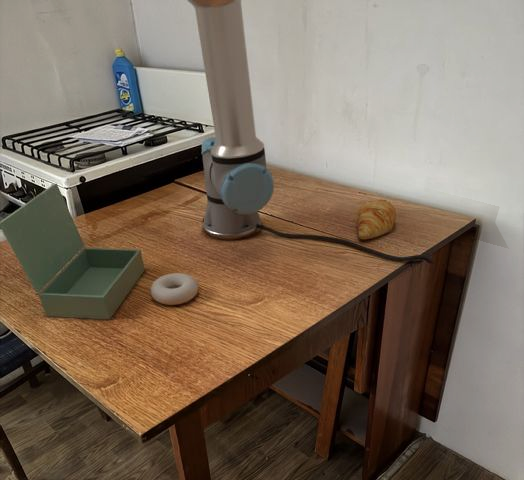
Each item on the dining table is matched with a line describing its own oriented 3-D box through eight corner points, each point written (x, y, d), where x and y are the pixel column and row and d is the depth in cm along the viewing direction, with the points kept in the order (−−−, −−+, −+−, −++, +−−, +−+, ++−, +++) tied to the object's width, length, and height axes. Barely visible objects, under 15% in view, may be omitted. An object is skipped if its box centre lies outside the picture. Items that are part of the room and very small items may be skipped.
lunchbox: (145, 270, 115) (140, 249, 112) (109, 319, 99) (103, 297, 96) (89, 267, 117) (84, 247, 114) (46, 316, 101) (38, 294, 98)
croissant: (371, 258, 123) (389, 233, 117) (338, 234, 123) (354, 209, 117) (394, 223, 137) (411, 200, 132) (365, 203, 138) (380, 179, 132)
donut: (142, 301, 105) (178, 312, 100) (139, 286, 103) (176, 297, 98) (173, 280, 111) (208, 290, 107) (170, 266, 109) (206, 276, 105)
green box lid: (56, 183, 106) (53, 183, 106) (1, 222, 89) (-3, 223, 90) (85, 245, 114) (82, 246, 114) (39, 291, 98) (35, 292, 98)
